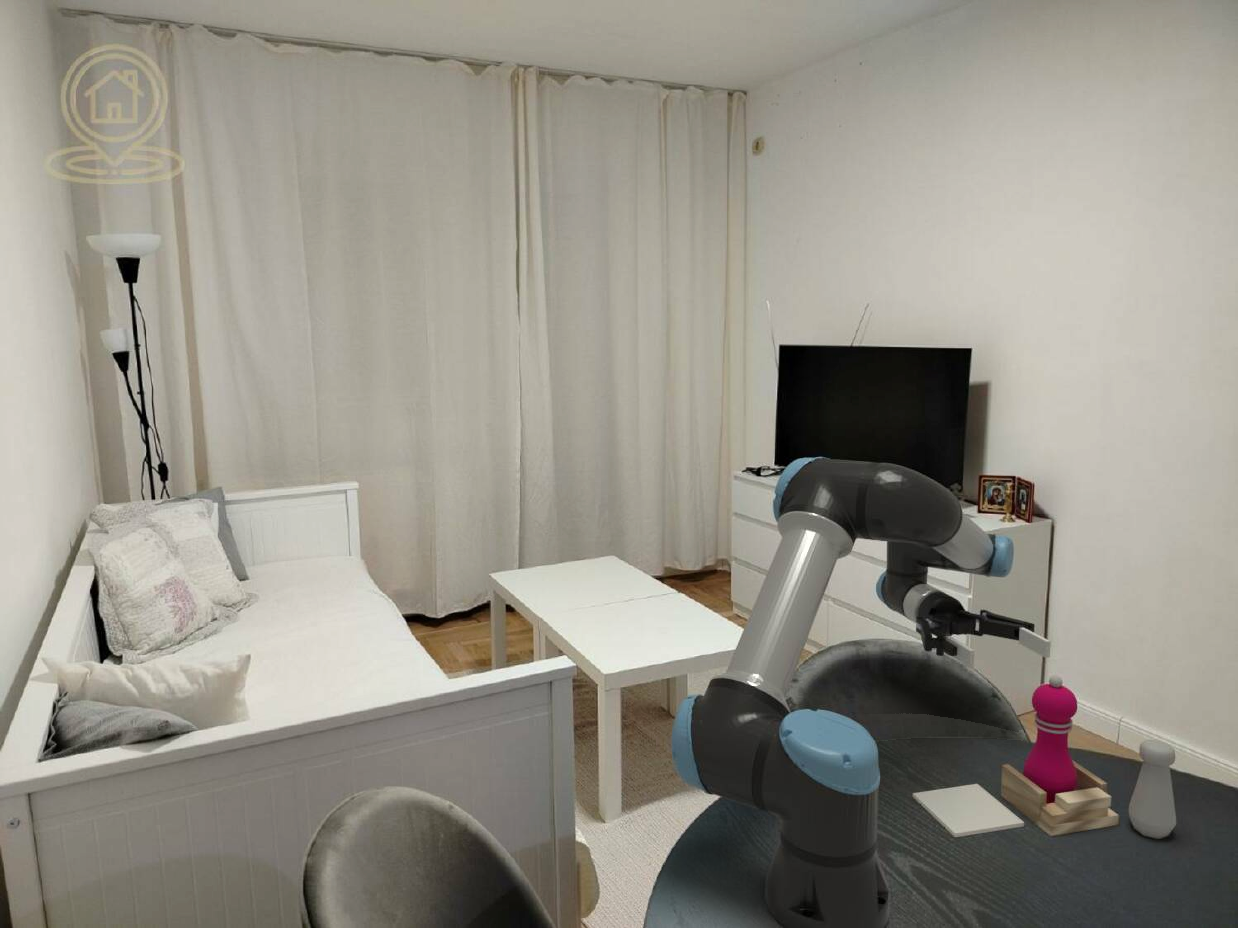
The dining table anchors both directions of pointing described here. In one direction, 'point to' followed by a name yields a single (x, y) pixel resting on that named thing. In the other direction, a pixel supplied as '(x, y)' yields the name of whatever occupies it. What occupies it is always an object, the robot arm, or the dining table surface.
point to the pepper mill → (1052, 740)
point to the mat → (967, 810)
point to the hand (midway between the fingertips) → (1010, 654)
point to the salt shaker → (1154, 791)
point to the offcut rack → (1061, 802)
